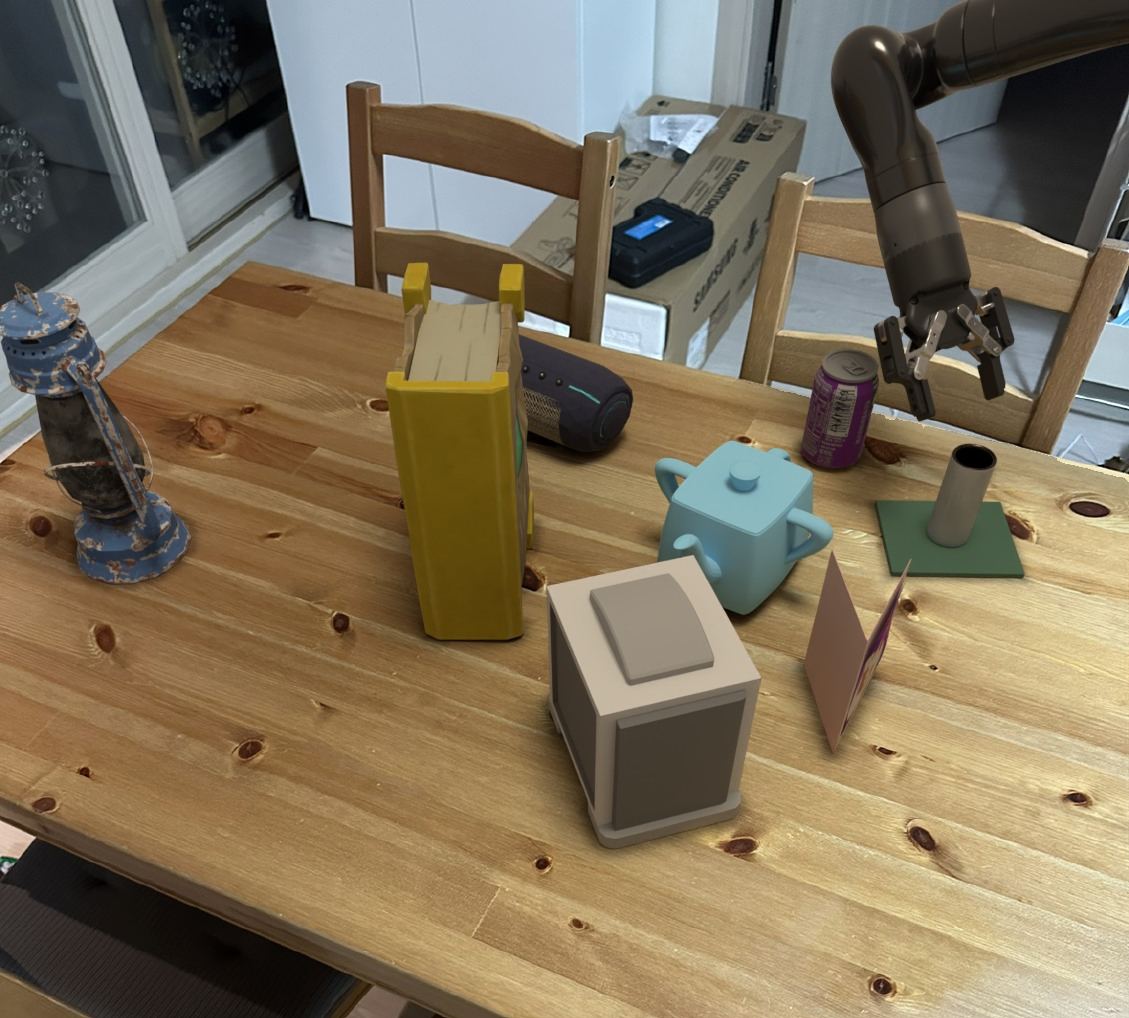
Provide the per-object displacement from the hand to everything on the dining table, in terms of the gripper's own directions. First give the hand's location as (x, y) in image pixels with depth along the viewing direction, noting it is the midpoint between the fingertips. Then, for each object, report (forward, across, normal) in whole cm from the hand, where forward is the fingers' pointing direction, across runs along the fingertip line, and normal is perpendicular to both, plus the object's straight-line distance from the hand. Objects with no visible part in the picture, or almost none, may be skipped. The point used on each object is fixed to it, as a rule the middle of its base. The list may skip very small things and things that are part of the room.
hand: (961, 408), depth 107 cm
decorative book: (+1, -48, +20) cm, 52 cm away
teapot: (+9, -25, +11) cm, 29 cm away
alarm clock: (+22, -44, -1) cm, 49 cm away
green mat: (+13, 0, +8) cm, 15 cm away
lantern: (-14, -81, +35) cm, 90 cm away
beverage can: (0, -3, +21) cm, 21 cm away
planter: (+12, 0, +8) cm, 14 cm away
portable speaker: (-15, -32, +36) cm, 51 cm away
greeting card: (+23, -25, -2) cm, 34 cm away
